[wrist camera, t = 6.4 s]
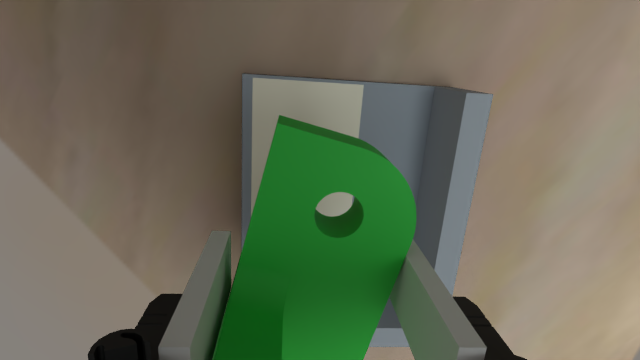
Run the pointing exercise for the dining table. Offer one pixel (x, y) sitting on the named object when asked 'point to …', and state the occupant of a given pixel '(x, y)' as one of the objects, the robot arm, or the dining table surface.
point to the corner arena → (393, 142)
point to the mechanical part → (317, 250)
